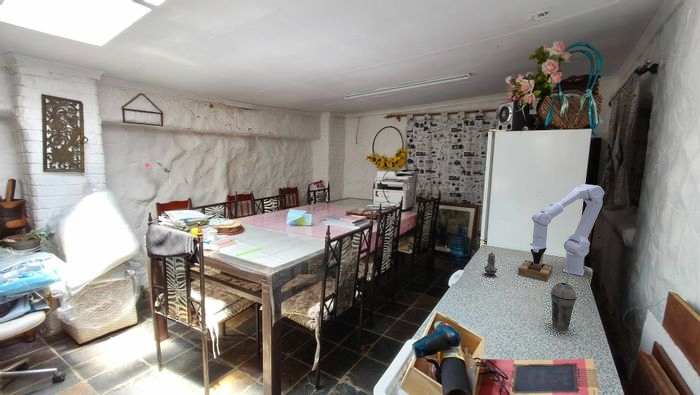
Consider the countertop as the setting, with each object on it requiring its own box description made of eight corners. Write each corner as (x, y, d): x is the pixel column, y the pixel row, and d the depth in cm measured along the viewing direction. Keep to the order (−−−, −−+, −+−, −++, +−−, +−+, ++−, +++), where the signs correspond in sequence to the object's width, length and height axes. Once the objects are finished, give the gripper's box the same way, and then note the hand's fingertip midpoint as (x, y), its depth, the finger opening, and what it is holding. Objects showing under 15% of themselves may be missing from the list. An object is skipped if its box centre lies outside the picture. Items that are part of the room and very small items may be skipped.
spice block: (525, 266, 159) (525, 260, 159) (552, 272, 152) (552, 265, 151) (517, 274, 148) (518, 268, 148) (546, 281, 140) (547, 274, 140)
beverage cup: (542, 321, 107) (547, 267, 104) (561, 320, 108) (567, 266, 105) (558, 333, 100) (564, 275, 97) (578, 332, 100) (585, 275, 98)
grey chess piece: (498, 278, 144) (500, 254, 143) (485, 277, 145) (486, 253, 144) (495, 273, 150) (496, 250, 148) (482, 272, 151) (484, 249, 149)
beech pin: (533, 265, 155) (535, 250, 154) (542, 267, 152) (544, 252, 151) (531, 267, 152) (533, 252, 151) (540, 269, 150) (542, 253, 148)
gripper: (533, 232, 158) (531, 257, 160) (527, 237, 147) (525, 264, 149) (549, 234, 153) (547, 260, 155) (544, 240, 143) (541, 268, 145)
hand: (537, 262), depth 152 cm, fingers closed on beech pin, 4 cm apart
